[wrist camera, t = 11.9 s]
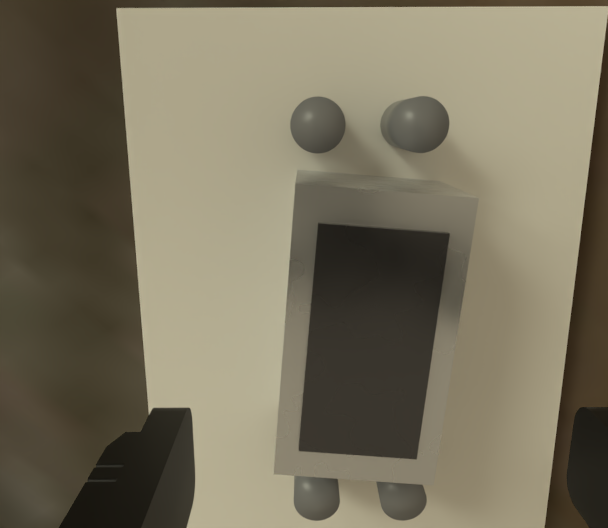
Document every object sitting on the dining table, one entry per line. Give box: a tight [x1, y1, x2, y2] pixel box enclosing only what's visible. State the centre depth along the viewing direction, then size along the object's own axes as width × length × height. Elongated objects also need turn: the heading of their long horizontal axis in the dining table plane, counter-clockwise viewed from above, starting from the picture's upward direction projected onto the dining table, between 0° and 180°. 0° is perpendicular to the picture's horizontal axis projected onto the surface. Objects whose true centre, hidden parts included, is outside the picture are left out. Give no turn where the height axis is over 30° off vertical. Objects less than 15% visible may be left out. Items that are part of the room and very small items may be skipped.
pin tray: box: [116, 6, 608, 528], centre depth 20 cm, size 16×20×4 cm
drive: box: [274, 170, 479, 485], centre depth 18 cm, size 5×9×5 cm, turn 176°
